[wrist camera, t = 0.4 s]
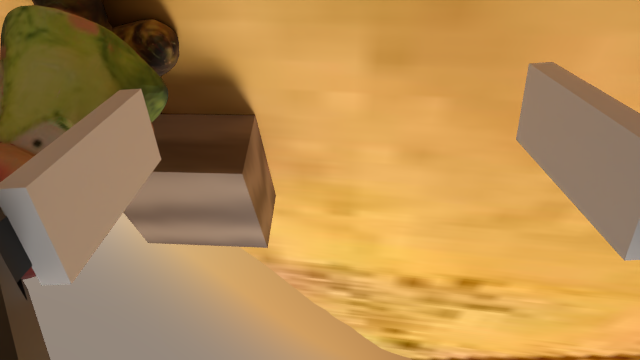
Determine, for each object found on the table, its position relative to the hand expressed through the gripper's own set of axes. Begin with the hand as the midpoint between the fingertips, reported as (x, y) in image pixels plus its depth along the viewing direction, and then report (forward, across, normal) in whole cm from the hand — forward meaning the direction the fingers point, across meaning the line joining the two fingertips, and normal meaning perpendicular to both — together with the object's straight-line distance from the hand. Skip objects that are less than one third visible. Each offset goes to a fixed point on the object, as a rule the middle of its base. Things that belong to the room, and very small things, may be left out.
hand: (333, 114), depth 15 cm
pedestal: (+22, -13, -12) cm, 28 cm away
